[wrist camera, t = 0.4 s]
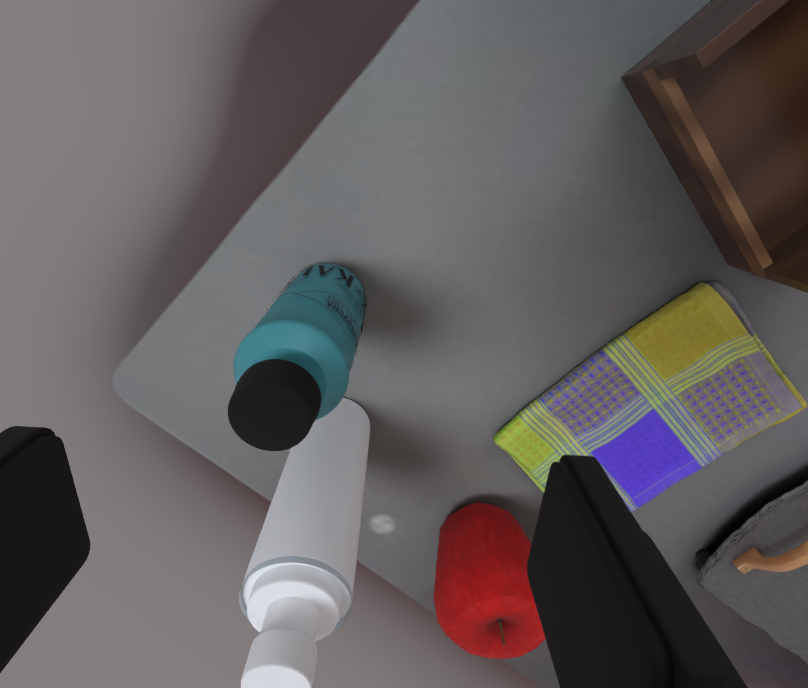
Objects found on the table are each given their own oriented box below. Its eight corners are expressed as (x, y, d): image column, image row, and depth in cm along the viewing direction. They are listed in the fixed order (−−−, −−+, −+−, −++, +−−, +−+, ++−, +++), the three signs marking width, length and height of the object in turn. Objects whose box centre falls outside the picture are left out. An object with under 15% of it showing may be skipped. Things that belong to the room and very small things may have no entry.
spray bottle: (365, 458, 46) (330, 770, 23) (298, 448, 45) (194, 758, 22) (375, 401, 43) (347, 689, 20) (305, 390, 43) (194, 674, 20)
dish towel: (482, 423, 44) (487, 440, 42) (716, 264, 38) (738, 272, 36) (576, 526, 50) (586, 547, 47) (794, 402, 44) (819, 417, 41)
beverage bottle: (337, 342, 41) (286, 502, 22) (276, 294, 39) (167, 425, 20) (385, 290, 39) (372, 417, 20) (324, 237, 37) (249, 325, 19)
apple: (413, 537, 50) (417, 667, 38) (458, 470, 46) (479, 589, 34) (495, 567, 52) (525, 700, 40) (544, 505, 48) (594, 630, 36)
